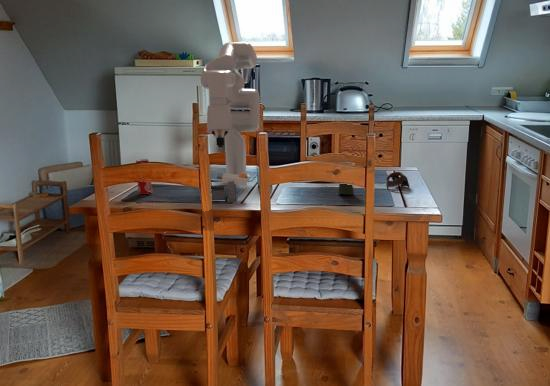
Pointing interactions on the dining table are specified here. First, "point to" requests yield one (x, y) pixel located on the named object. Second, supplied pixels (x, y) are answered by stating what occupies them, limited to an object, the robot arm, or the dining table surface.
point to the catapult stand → (232, 192)
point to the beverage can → (144, 186)
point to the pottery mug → (397, 180)
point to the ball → (243, 175)
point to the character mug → (344, 187)
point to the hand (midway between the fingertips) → (220, 146)
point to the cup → (218, 192)
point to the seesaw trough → (233, 179)
